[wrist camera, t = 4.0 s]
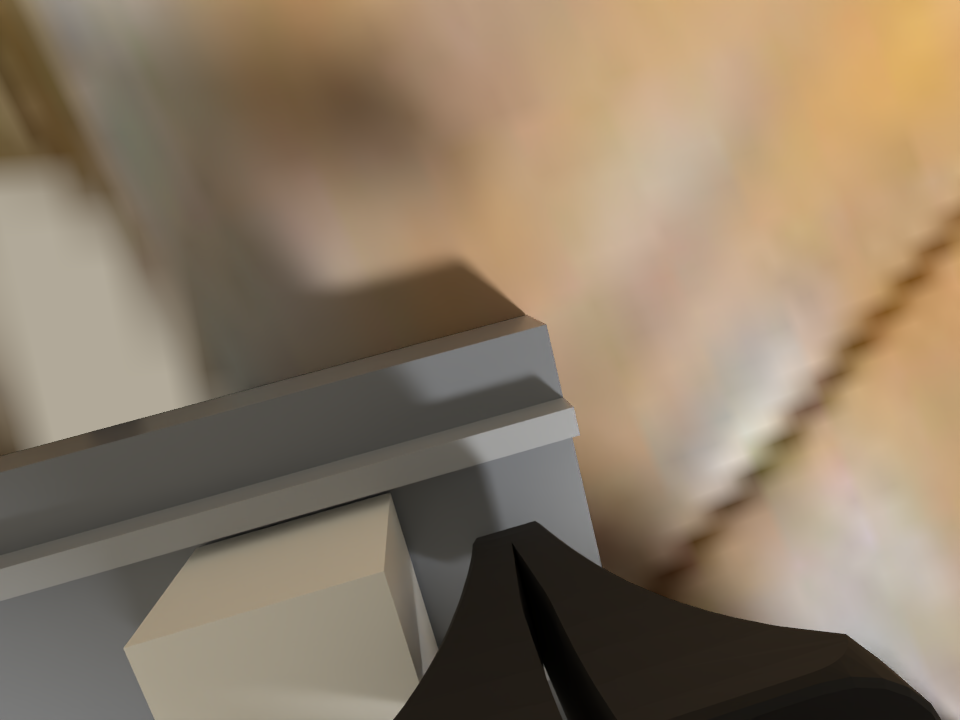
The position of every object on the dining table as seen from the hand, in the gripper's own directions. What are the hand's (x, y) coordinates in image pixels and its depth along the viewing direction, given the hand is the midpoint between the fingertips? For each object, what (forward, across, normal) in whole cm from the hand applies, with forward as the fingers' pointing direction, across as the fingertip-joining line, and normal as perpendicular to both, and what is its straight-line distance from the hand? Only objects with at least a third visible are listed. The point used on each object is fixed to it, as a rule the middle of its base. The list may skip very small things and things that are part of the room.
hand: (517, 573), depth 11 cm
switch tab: (+1, +4, 0) cm, 4 cm away
